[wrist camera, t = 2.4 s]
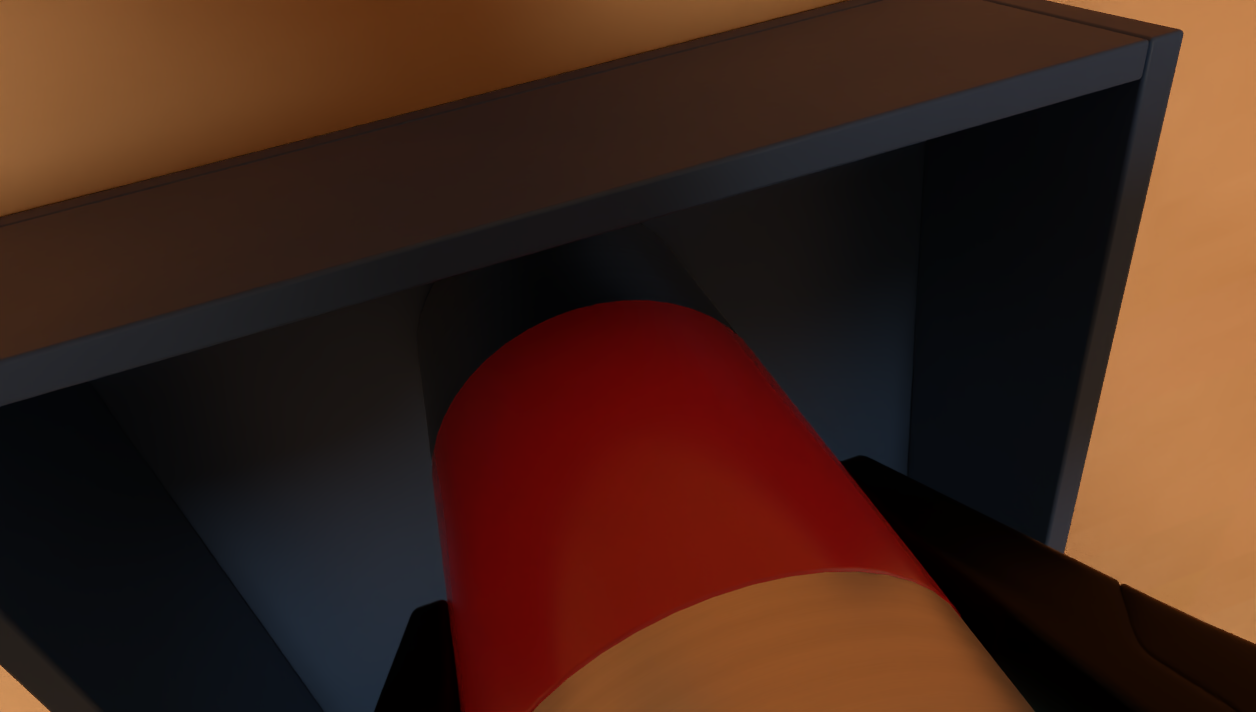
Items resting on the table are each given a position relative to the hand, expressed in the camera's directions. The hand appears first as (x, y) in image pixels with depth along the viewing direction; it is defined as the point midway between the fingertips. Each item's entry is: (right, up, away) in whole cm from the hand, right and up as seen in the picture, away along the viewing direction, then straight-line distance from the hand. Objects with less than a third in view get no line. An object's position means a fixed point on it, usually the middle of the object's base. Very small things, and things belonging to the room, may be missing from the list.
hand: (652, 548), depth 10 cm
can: (-2, +3, +4) cm, 6 cm away
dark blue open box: (-1, 0, +7) cm, 7 cm away
